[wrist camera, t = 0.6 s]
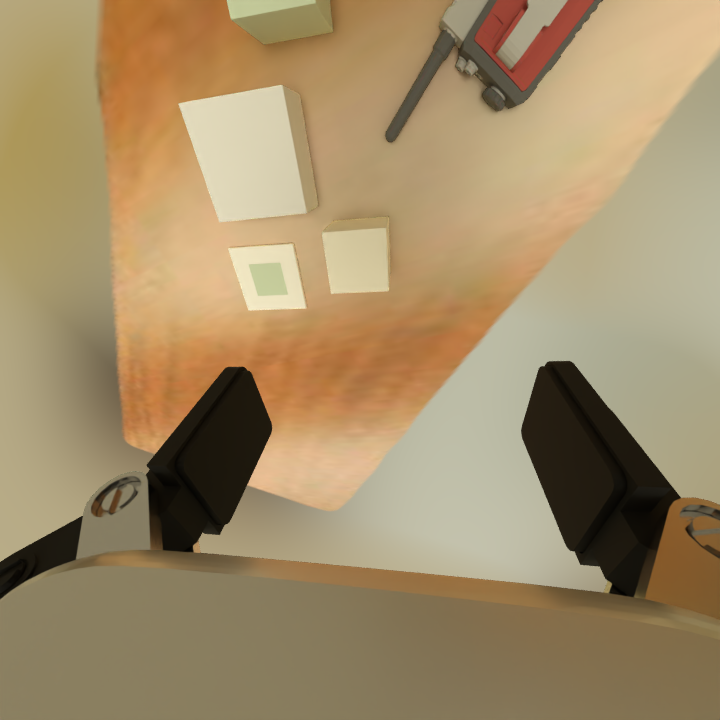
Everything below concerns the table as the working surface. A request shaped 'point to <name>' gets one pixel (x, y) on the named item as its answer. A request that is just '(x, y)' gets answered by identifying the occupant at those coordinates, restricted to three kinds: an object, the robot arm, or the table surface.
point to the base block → (253, 153)
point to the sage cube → (282, 18)
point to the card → (269, 276)
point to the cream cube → (358, 255)
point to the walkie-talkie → (500, 47)
